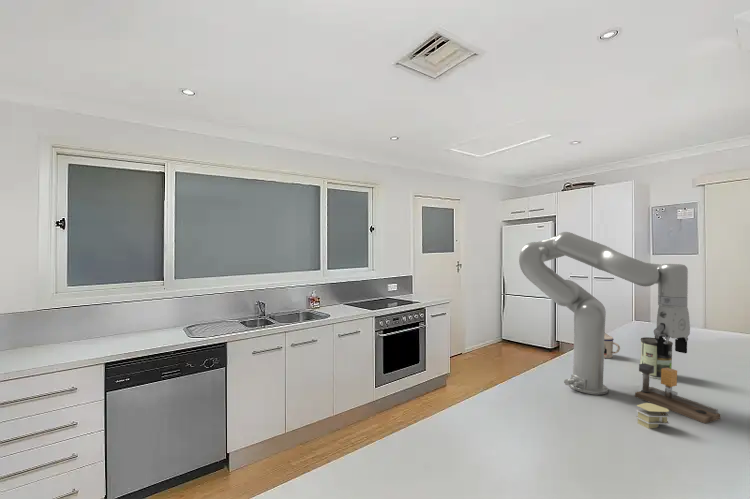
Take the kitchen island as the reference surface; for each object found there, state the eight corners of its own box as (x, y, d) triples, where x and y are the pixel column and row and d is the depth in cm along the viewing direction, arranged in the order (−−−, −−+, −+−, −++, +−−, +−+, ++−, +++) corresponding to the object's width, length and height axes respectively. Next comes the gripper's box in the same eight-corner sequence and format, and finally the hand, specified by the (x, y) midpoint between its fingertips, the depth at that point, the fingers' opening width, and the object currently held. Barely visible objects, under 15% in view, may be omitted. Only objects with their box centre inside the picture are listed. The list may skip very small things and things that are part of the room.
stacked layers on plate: (654, 436, 102) (655, 416, 102) (624, 420, 110) (625, 402, 110) (681, 432, 104) (682, 412, 104) (650, 417, 113) (650, 399, 113)
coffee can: (671, 374, 150) (672, 340, 150) (671, 381, 142) (673, 345, 141) (639, 368, 156) (641, 335, 156) (639, 375, 148) (640, 340, 148)
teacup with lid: (586, 354, 175) (587, 330, 175) (595, 351, 180) (596, 327, 180) (615, 361, 165) (615, 335, 165) (623, 358, 171) (624, 333, 170)
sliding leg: (670, 401, 119) (671, 371, 119) (660, 397, 122) (661, 368, 122) (679, 399, 121) (680, 369, 121) (669, 395, 124) (670, 366, 124)
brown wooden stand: (705, 423, 109) (706, 387, 109) (633, 396, 128) (634, 365, 128) (720, 418, 112) (721, 383, 112) (648, 392, 131) (649, 362, 131)
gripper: (668, 305, 114) (668, 360, 114) (701, 301, 120) (701, 354, 121) (643, 301, 121) (642, 353, 121) (675, 298, 127) (675, 348, 128)
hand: (671, 353), depth 121 cm, fingers open, 9 cm apart
